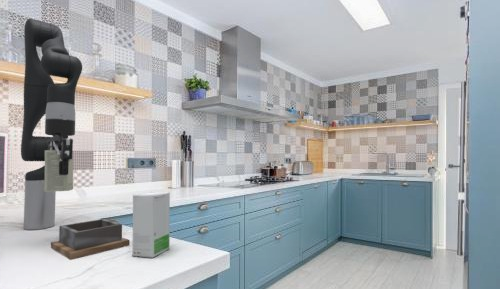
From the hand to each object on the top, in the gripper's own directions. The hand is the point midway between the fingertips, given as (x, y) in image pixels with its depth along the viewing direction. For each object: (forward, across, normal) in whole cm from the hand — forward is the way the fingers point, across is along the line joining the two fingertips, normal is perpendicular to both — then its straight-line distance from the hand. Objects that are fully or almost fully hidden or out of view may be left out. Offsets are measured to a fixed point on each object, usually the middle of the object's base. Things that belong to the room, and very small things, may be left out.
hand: (59, 174), depth 85 cm
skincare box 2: (+21, +28, +13) cm, 38 cm away
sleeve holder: (+20, +10, +5) cm, 23 cm away
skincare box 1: (+5, 0, 0) cm, 5 cm away
